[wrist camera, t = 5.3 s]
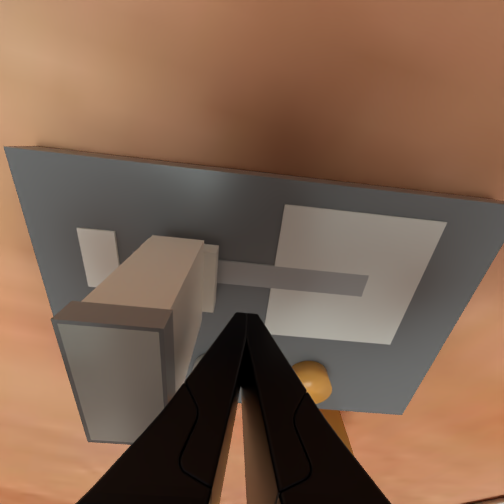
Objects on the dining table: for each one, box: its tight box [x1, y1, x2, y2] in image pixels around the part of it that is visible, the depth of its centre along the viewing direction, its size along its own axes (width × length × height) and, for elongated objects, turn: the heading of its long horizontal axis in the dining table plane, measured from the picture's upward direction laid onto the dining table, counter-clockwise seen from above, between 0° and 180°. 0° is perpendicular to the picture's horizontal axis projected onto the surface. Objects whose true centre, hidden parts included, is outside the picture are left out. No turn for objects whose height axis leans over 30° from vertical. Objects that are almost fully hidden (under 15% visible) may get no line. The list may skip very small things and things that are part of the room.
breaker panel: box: [4, 146, 504, 415], centre depth 13 cm, size 21×14×2 cm, turn 84°
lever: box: [51, 235, 219, 445], centre depth 8 cm, size 3×4×6 cm
